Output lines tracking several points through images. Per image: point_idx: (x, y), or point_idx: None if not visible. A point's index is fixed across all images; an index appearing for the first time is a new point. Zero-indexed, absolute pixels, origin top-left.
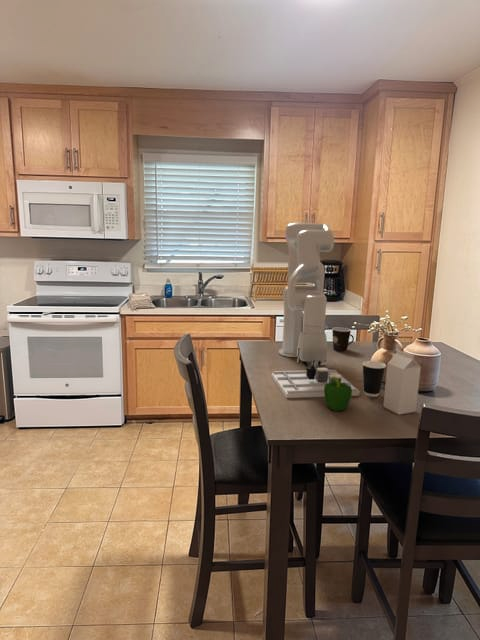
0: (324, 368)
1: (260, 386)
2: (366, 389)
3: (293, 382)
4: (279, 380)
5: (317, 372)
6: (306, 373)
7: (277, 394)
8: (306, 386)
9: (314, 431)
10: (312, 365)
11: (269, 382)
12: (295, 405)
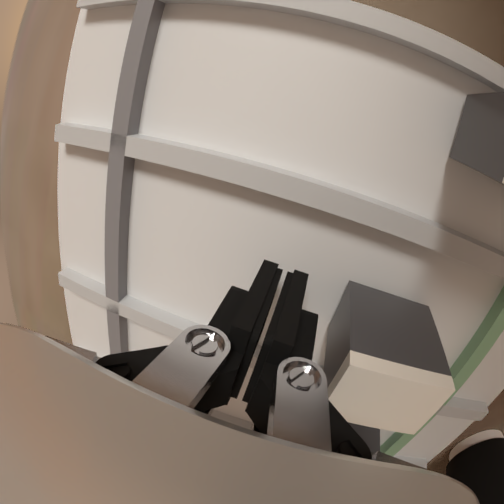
0: (416, 404)
1: (14, 162)
2: (447, 475)
3: (140, 237)
4: (69, 163)
5: (334, 361)
6: (226, 296)
7: (59, 289)
8: None
9: None
10: (262, 397)
11: (55, 106)
12: None
